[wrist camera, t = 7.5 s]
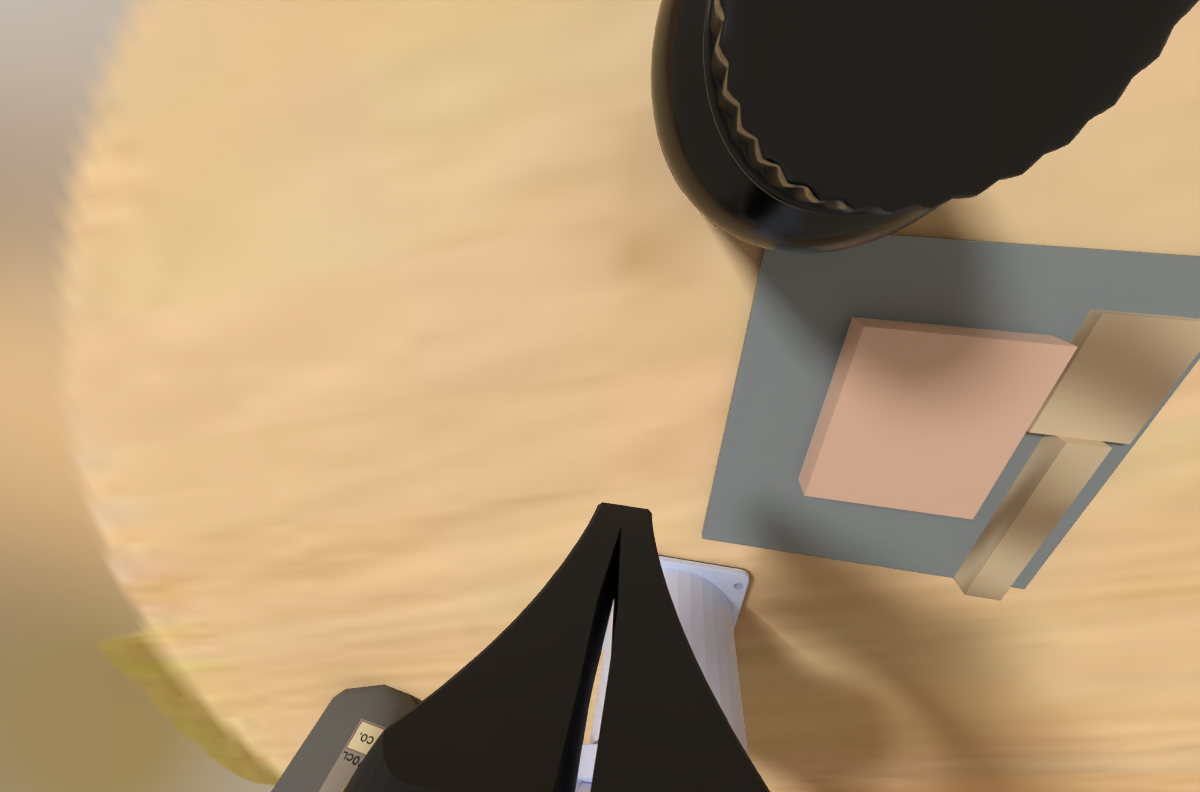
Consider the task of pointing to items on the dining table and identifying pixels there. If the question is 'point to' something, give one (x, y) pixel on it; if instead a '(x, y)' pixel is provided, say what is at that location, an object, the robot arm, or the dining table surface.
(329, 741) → the liquor
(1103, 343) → the turner
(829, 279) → the mat
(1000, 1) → the supplement bottle
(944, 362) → the tile
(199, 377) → the dining table surface
